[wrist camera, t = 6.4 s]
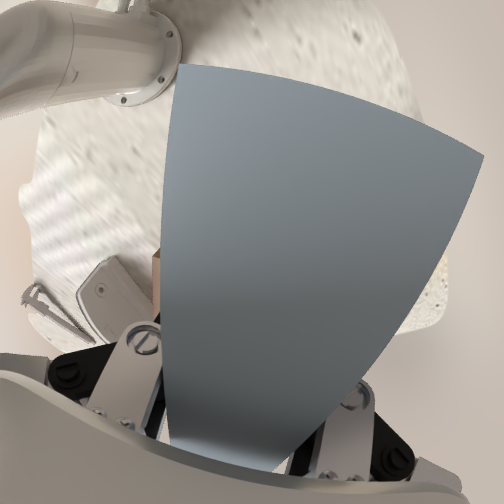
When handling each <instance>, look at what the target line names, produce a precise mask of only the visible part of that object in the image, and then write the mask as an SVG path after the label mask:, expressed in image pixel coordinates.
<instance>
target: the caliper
mask: <svg viewBox="0 0 504 504" xmlns="http://www.w3.org/2000/svg"><path fill="white" fill-rule="evenodd" d="M33 288H34V285H31V286H30V287H29V288H28V289H27V290H26V291H25V292H24V294H23V295H22V297H21V300H22V302H21V305H23V304H24V303H25V308H26V306H27V304H29V307H31V308H32V309H34V310H35V311H36V312H38V313H39V314H41V315H42V316H43V317H44V316H46V317H48V318H49V319H50V320H52V321H53V322H55V323H56V324H58V325H59V326H61V327H62V328H64V329H65V330H67V331H68V332H70V333H72V334H73V335H75V336H76V337H78V338H80V339H81V340H83V341H85V342H86V343H88V344H89V343H91V344H93V345H95V344H96V342H95V341H93V340H91V338H90V337H89V336H88V335H87V334H85V333H83V332H82V331H80V330H79V329H77V328H75V327H74V326H72V325H71V324H69V323H68V322H66V321H65V320H63V319H62V318H60V317H59V316H57V315H56V314H54V313H53V312H51V311H50V310H48V308H49V306H48V305H46V304H45V303H44V302H41V301H38V300H37V298H38V294H39V289H37V291H36V292H35V294H34V296H33V298H32V297H30V296H29V294H30V293H31V291H32V289H33Z"/></svg>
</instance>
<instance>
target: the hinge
mask: <svg viewBox="0 0 504 504" xmlns="http://www.w3.org/2000/svg"><path fill="white" fill-rule="evenodd" d="M76 299H77V302H78V305H79V307H80V309H81V311H82V313H83V315H84V317H85V319H86V321H87V322H88V324H89V325H90V326H91V328H92V329H93V331H94V332H95V333H96V334H97V335H98V336H99V337H100V338H101V339H102V340H103V341H104V342H105V343H106V344H109V343H113V342H117V341H119V339H120V337H121V335H122V333H123V332H124V330H125V329H126V328H127V327H128V326H130V325H131V324H133V323H136V322H140V321H149V322H153V321H154V314H153V304H152V302H151V301H150V300H149V299H148V298H147V296H146V295H145V294H144V293H143V291H142V290H141V289H140V288H139V286H138V285H137V284H136V283H135V281H134V280H133V279H132V278H131V276H130V275H129V274H128V272H127V271H126V270H125V268H124V267H123V266H122V265H121V263H120V262H119V261H118V259H117V258H116V256H115V255H114V256H112V257H111V258H110V259H109V260H108V261H102V262H101V263H99V264H98V265H97V267H96V268H95V269H94V270H93V271H92V273H91V274H90V275H89V276H88V278H87V279H86V280H85V281H84V282H83V284H82V285H81V286H80V287H79V289H78V290H77V292H76Z"/></svg>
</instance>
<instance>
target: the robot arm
mask: <svg viewBox="0 0 504 504" xmlns="http://www.w3.org/2000/svg"><path fill="white" fill-rule="evenodd" d="M130 1H131V0H119V3H118V4H119V5H118V9H117V11H116V12H110V11H106V10H101V9H97V8H92V7H87V6H81V5H76V4H70V3H64V2H58V1H50V0H35V1H29V2H26V3H23V4H19V5H17V6H14V7H12V8H10V9H8V10H7V11H5V12H3V13H1V14H0V120H2V119H5V118H8V117H11V116H14V115H18V114H21V113H24V112H29V111H33V110H37V109H41V108H45V107H49V106H54V105H59V104H64V103H69V102H75V101H80V100H86V99H93V98H100V97H103V98H104V99H105V100H106V101H108V102H110V103H112V104H114V105H118V106H124V107H130V106H137V105H140V104H144V103H146V102H148V101H150V100H152V99H154V98H155V97H157V96H158V95H159V94H160V93H162V92H163V91H164V89H165V88H166V87H167V86H168V85H169V84H170V82H171V81H172V79H173V78H174V76H175V74H176V72H177V69H178V67H179V63H180V60H181V53H182V43H181V37H180V34H179V31H178V29H177V27H176V26H175V24H174V23H173V22H172V21H171V20H170V19H169V18H168V17H167V16H165V15H163V14H162V13H159V12H156V11H153V10H151V8H152V7H150V6H149V3H150V0H135V1H134V5H133V6H130V8H129V12H128V7H129V4H130ZM172 34H173V36H172ZM171 36H172V37H171ZM164 78H165V81H163V79H164ZM374 407H375V398H374V393H373V391H372V388H371V387H370V386H369V385H368V383H366V382H365V381H364V380H362V379H361V380H360V381H359V382H358V383H357V385H356V386H355V387H354V388H353V389H352V391H351V392H350V393H349V394H348V395H347V397H346V398H345V399H344V400H343V401H342V402H341V403H340V405H339V406H338V407H337V408H336V409H335V410H334V411H333V412H332V413H331V415H330V416H329V417H328V418H327V419H326V420H325V421H324V422H323V423H322V424H321V425H320V426H319V427H318V428H317V429H316V430H315V431H314V432H313V433H312V434H311V435H310V437H309V438H307V439H306V440H305V441H304V442H303V443H302V444H301V445H300V446H299V447H298V448H297V449H296V450H295V451H294V452H293V453H292V454H291V455H290V456H289V459H288V463H287V466H286V470H285V473H284V474H278V473H272V472H267V471H261V470H256V469H251V468H247V467H242V466H238V465H234V464H230V463H226V462H222V461H218V460H215V459H211V458H208V457H204V456H201V455H198V454H194V453H191V452H188V451H185V450H182V449H179V448H176V447H173V446H171V445H168V444H165V443H162V442H160V441H159V438H160V434H161V431H162V428H163V424H164V421H165V418H166V414H167V412H166V402H165V391H164V379H163V365H162V348H161V324H160V312H159V313H158V315H157V317H156V318H155V320H154V321H153V322H149V321H140V322H136V323H133V324H131V325H130V326H128V327H127V328H126V329H125V330H124V332H123V333H122V335H121V337H120V339H119V341H117V342H113V343H109V344H105V345H101V346H97V347H93V348H89V349H84V350H80V351H75V352H71V353H67V354H63V355H60V356H58V357H57V358H55V359H54V360H49V358H48V357H42V356H30V355H19V354H9V353H0V504H470V503H469V501H468V499H467V498H466V497H465V496H464V495H463V494H462V493H461V489H462V485H461V481H460V479H459V477H458V476H457V475H455V474H454V473H452V472H450V471H447V470H445V469H443V468H441V467H439V466H437V465H435V464H433V463H431V462H429V461H428V460H426V459H424V458H422V457H418V458H415V456H414V453H413V451H412V449H411V448H410V447H409V445H408V444H406V443H405V441H403V439H402V438H401V437H399V435H398V434H397V433H395V432H394V430H392V428H390V427H389V425H388V424H387V423H386V422H385V421H384V420H383V419H382V418H381V417H380V416H379V415H378V414H377V413H376V412H375V411H374V410H375V408H374Z"/></svg>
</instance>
